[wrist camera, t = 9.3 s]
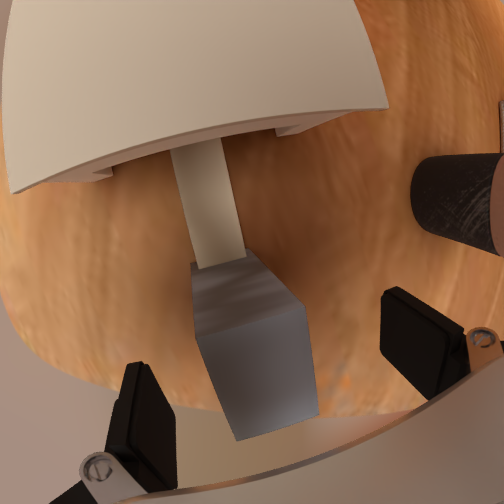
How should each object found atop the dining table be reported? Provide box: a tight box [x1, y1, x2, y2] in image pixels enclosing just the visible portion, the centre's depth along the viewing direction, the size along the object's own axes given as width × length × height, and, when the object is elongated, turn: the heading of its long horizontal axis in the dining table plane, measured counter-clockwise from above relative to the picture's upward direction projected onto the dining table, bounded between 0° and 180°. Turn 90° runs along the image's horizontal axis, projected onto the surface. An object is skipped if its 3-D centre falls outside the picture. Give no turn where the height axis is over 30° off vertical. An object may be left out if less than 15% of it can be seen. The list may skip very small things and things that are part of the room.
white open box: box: [2, 0, 389, 194], centre depth 11 cm, size 15×13×10 cm
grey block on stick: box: [170, 138, 319, 441], centre depth 13 cm, size 4×22×10 cm, turn 12°
